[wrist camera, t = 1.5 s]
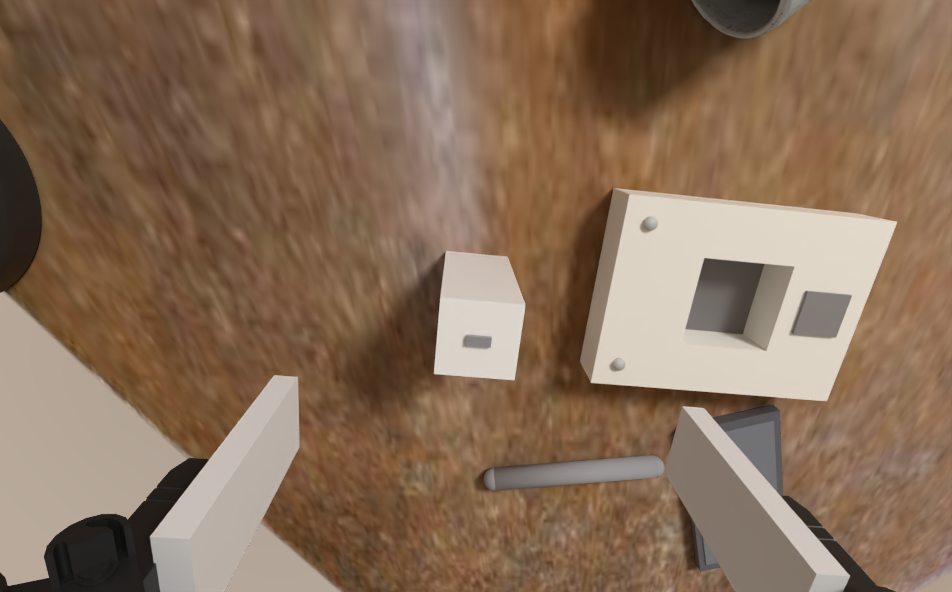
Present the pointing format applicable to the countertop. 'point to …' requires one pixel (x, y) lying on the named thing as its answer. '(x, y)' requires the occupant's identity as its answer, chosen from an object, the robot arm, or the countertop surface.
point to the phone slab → (761, 446)
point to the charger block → (478, 317)
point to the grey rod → (573, 472)
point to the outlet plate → (728, 294)
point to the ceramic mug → (747, 15)
